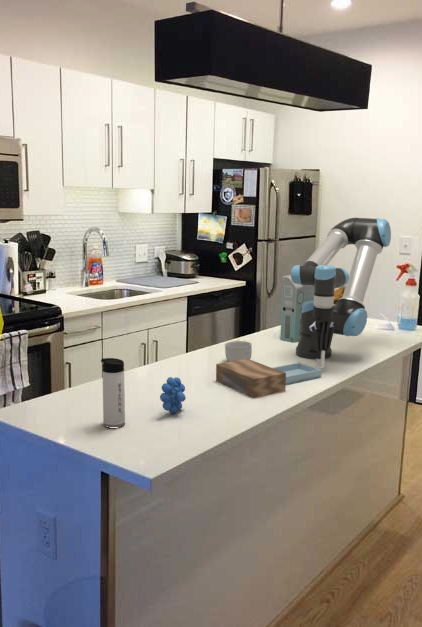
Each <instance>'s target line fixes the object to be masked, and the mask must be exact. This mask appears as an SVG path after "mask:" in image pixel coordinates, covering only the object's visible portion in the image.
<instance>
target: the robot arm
mask: <svg viewBox="0 0 422 627" xmlns="http://www.w3.org/2000/svg"><path fill="white" fill-rule="evenodd" d="M391 229H392V228H391V226H390V222H389V221H388V220H387V219H385V218H383V219H382V218H379V217H377V218H370V217H369V218H367V217H350V218H347V219H344V220H343V221H340V222H339V223H337V224H336V225H334V226H333V227H332V228H330V230H329V231H328V232H327V235H326V238H325V239H324V240H323V241H322V243H321V244H320V245H319V246H318V248H316V249H315V251H314V252H313V253H312V254H311V255H310V256H309V258H308V259H307V260H306V261H305V262H304V263H303V264H297V265H293V267H292V268H291V272H290V275H291V280H292V282H293V283H296V284H301V285H312V286H314V301H308V302H305V303H304V304H303V305H302V312H301V336H300V339H299V341H297V342H298V343H297V346H296V347H295V355H296V356H298V357H300V358H301V357H302V358H304V359H311V360H312V359H313V360H314V359H315V360H316V365H315V366H316V367H318V368H321V369H323V368H325V360H326V359H328V358H331V357H332V355H333V354H332V352H333V349H332V348H331V347H332V341H333V337H334V335H341V336H345V337H358V336H360V335H361V334H362V333H363V331H364V329H365V328H366V325H367V322H368V312H367V310H366V306H365V305H364V303H363V302H364V299H365V296H366V293H367V291H368V290H367V289H368V286H369V284H370V279H371V275H372V273H373V270H374V267H375V264H376V260H377V256H378V255H379V254H380V255H381V253H382V252H383V248H388V247H389V245H390V243H391V239H392V238H391V237H392V233H391V232H392V230H391ZM349 245H354V246H355V248H356V253H355V256H354V259H353V262H352V265H351V268H350V272H348V271H347V270H346V269H345V268H344V267H343V268H342V267H335V266H334V265H329V263H330V262H331V261H332V260H333V259H334V258H335V257H336V255H337V254H338V252H340V251H341V249H344V248H346V247H347V246H349ZM344 286H345V287H344ZM342 287H344V291H343V292H342V293H343V295H342V297H340V298H339V299H337V301H336V304H335V303H334V302H335V289H340V288H342Z"/></svg>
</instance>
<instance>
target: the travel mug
mask: <svg viewBox="0 0 422 627" xmlns="http://www.w3.org/2000/svg"><path fill="white" fill-rule="evenodd" d="M100 363H102V408H103V410H102V412H103V413H102V414H103V415H102V416H103V418H102V419H103V420H102V421H103V426H104V425H105V426H108V427H120V428H122V427H124V426H125V425H126V411H125V409H126V406H125V405H126V402H125V401H126V400H125V399H126V398H125V397H126V396H125V362H124V360H122V359H119V358H113V357H105V358H104V357H103V358H101V360H100ZM123 425H124V426H123ZM105 426H104V427H105ZM121 426H122V427H121Z"/></svg>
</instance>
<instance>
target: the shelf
mask: <svg viewBox="0 0 422 627" xmlns="http://www.w3.org/2000/svg"><path fill="white" fill-rule="evenodd" d="M215 374H216V375H215V381H216V383H220V384H221V385H224V386H226V387H228V388H230V389H233V390H235V391H236V392H240V393H241V394H244V395H246V396H248V397H250V398H252V399H256V398H260V397H265V396H268V395H269V396H270V395H273V394H277V393H282V392H286V386H287V385H286V373H285V372H282V371H279V370H277V369H274V368H272V367H270V366H269V365H265V364H263V363H260V362H257V361H256V360H255V361H254V360H253V359H242V360H236V361H230V362H229V361H225V362H219V363H216V366H215Z"/></svg>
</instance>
